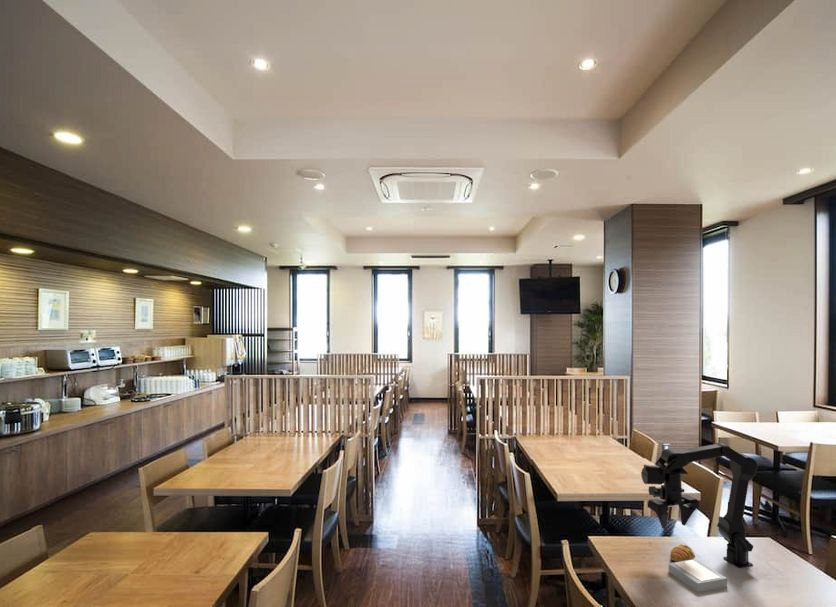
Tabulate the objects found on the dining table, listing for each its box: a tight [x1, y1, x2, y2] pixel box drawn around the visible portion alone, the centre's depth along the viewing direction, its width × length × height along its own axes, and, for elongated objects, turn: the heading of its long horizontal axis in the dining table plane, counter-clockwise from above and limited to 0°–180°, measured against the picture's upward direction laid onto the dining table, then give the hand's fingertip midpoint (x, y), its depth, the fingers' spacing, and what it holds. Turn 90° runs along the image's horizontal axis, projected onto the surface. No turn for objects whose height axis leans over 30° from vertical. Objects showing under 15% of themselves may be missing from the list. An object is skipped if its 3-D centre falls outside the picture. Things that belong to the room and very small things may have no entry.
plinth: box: [668, 558, 728, 593], centre depth 151 cm, size 12×12×3 cm
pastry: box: [669, 544, 696, 562], centre depth 163 cm, size 9×7×4 cm
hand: (673, 526), depth 164 cm, fingers open, 9 cm apart
